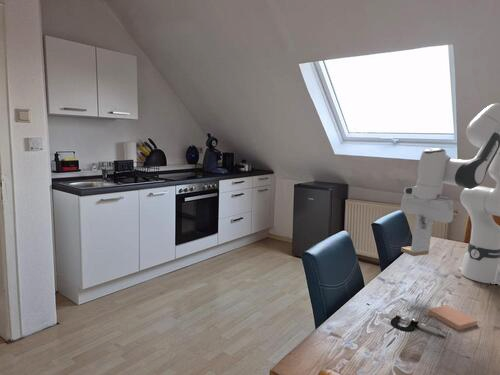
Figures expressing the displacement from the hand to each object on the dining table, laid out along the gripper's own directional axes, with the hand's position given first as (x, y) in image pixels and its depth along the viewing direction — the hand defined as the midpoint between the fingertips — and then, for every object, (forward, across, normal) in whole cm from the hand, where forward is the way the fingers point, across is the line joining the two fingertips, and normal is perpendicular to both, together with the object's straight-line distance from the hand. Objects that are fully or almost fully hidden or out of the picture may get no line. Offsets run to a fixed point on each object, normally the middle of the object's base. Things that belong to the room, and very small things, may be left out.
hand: (423, 228), depth 139 cm
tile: (+24, -15, +7) cm, 29 cm away
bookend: (+10, +2, 0) cm, 10 cm away
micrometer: (+25, -22, +25) cm, 41 cm away
